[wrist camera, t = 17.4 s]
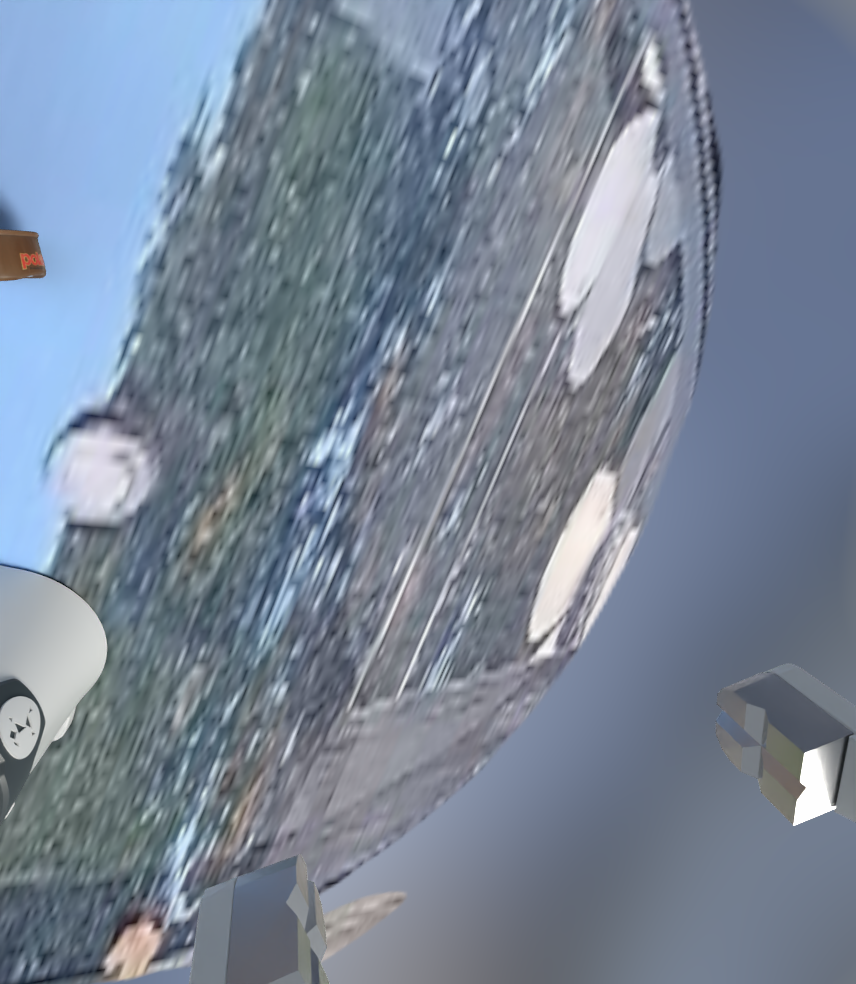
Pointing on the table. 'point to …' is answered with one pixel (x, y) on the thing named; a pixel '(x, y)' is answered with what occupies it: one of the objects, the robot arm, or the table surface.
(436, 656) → the table surface
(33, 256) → the tin
